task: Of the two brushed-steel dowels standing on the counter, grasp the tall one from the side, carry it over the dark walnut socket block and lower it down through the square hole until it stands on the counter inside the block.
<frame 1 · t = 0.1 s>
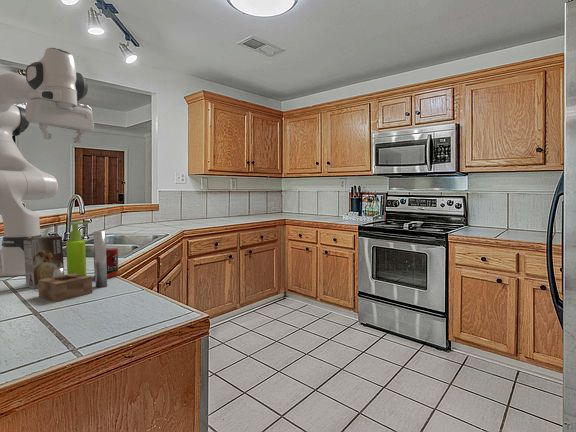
hand: (63, 141, 116), 48 cm above the counter, tool pointing down, fingers open, 8 cm apart
coffee box: (45, 285, 115), on the counter
long steel dowel: (101, 286, 113), on the counter
walnut socket block: (66, 294, 103), on the counter
short steel dowel: (58, 286, 113), on the counter
canned food: (106, 277, 126), on the counter
soap dispenser: (78, 277, 126), on the counter
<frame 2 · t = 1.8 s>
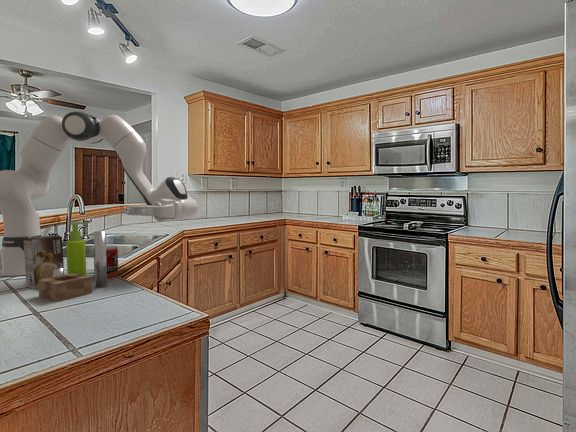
hand: (131, 211, 122), 24 cm above the counter, tool horizontal, fingers open, 8 cm apart
nothing on the counter moved.
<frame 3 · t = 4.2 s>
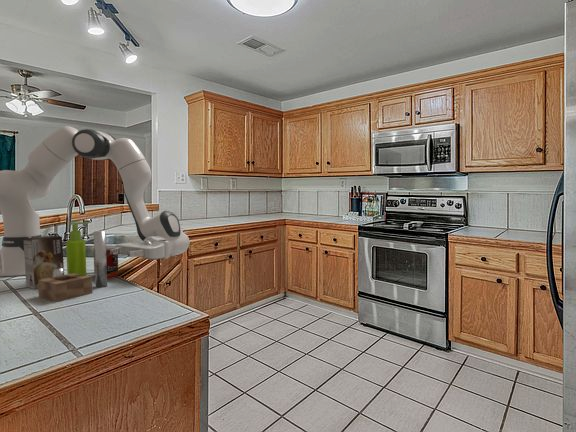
hand: (120, 253, 119), 10 cm above the counter, tool horizontal, fingers open, 8 cm apart
nothing on the counter moved.
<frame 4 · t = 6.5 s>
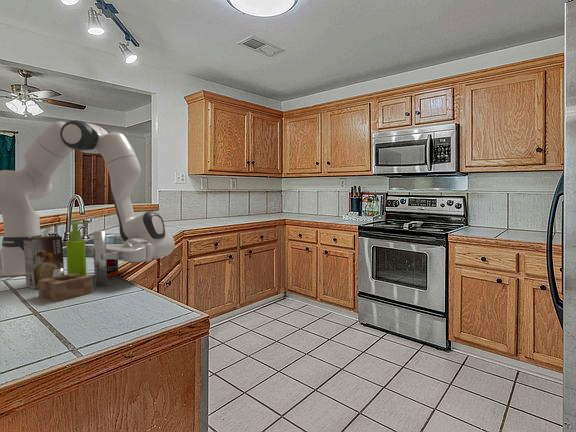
hand: (97, 256, 112), 10 cm above the counter, tool horizontal, fingers closed on long steel dowel, 3 cm apart
long steel dowel: (101, 286, 113), on the counter, touching gripper
everything else where it was.
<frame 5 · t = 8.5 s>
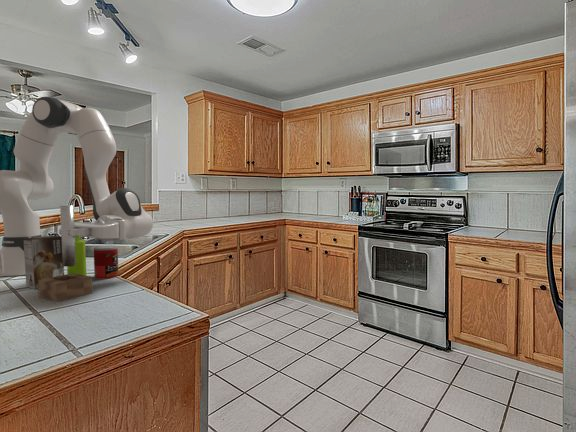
hand: (64, 232, 103), 19 cm above the counter, tool horizontal, fingers closed on long steel dowel, 3 cm apart
long steel dowel: (69, 265, 104), point 9 cm above the counter, touching gripper
everything else where it was.
when the fingers open (11 cm above the counter, at t = 10.9 s): long steel dowel stays where it is, resting in walnut socket block.
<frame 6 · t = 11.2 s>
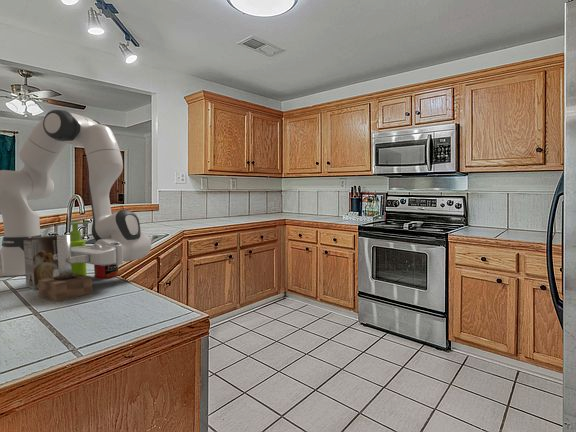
hand: (61, 259, 102), 11 cm above the counter, tool horizontal, fingers open, 6 cm apart
long steel dowel: (66, 294, 103), resting in walnut socket block
everything else where it was.
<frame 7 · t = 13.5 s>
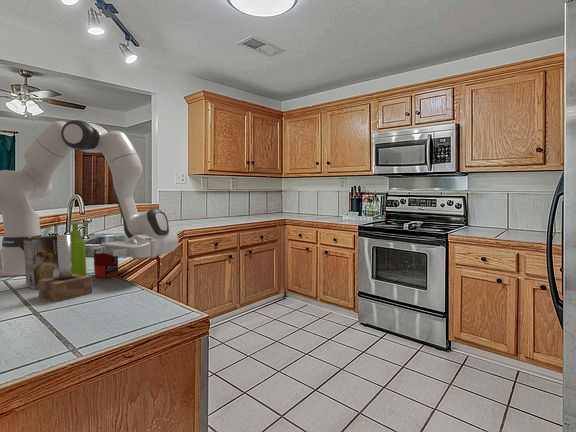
hand: (103, 252, 113), 11 cm above the counter, tool horizontal, fingers open, 8 cm apart
nothing on the counter moved.
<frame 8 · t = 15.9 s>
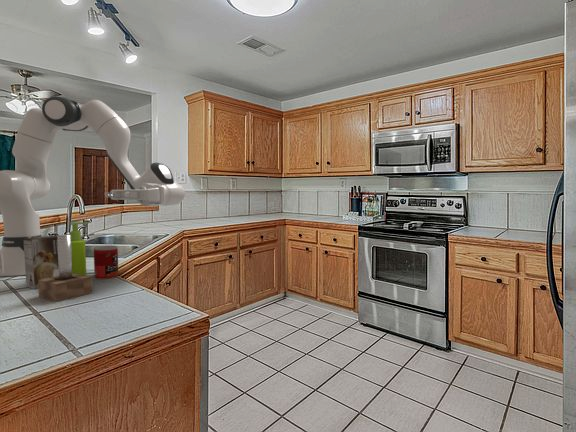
hand: (114, 194, 118), 30 cm above the counter, tool horizontal, fingers open, 8 cm apart
nothing on the counter moved.
at the end: long steel dowel 0.0 cm off-centre on the walnut socket block, point 0.0 cm above the walnut socket block's base; long steel dowel tilted 0°; the gripper is holding nothing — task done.
